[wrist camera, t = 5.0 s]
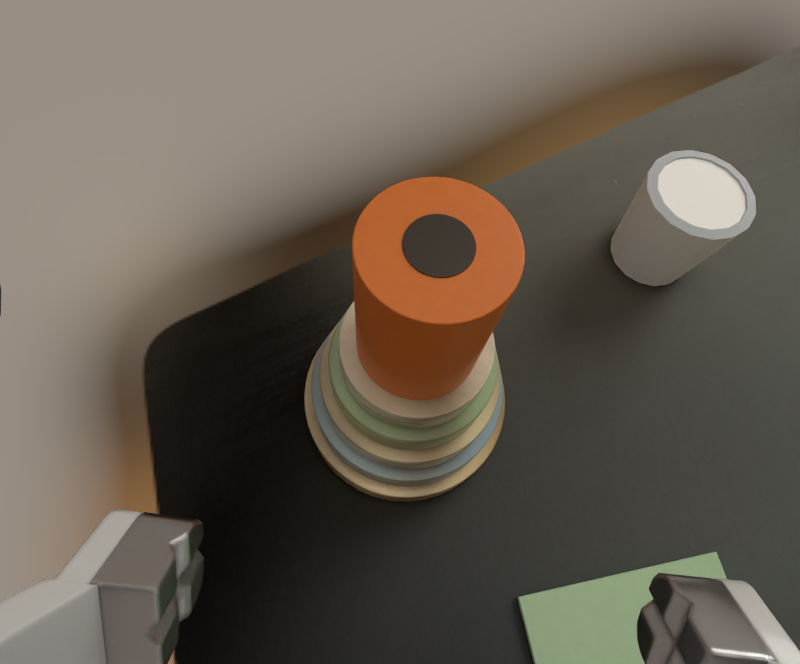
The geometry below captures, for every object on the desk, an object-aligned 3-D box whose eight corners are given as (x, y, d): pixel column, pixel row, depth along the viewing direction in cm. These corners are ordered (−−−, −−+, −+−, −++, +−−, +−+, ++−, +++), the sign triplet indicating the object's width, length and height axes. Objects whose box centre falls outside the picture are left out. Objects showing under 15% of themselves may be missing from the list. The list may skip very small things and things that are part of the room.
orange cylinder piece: (367, 410, 23) (368, 337, 16) (347, 296, 25) (339, 185, 18) (491, 388, 24) (547, 308, 16) (461, 279, 26) (499, 166, 19)
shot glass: (632, 305, 37) (686, 252, 31) (585, 228, 40) (626, 163, 33) (712, 278, 39) (780, 221, 32) (662, 204, 41) (716, 137, 35)
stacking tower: (321, 520, 30) (302, 500, 21) (296, 331, 35) (272, 248, 26) (520, 480, 32) (581, 446, 23) (471, 304, 37) (506, 217, 28)
